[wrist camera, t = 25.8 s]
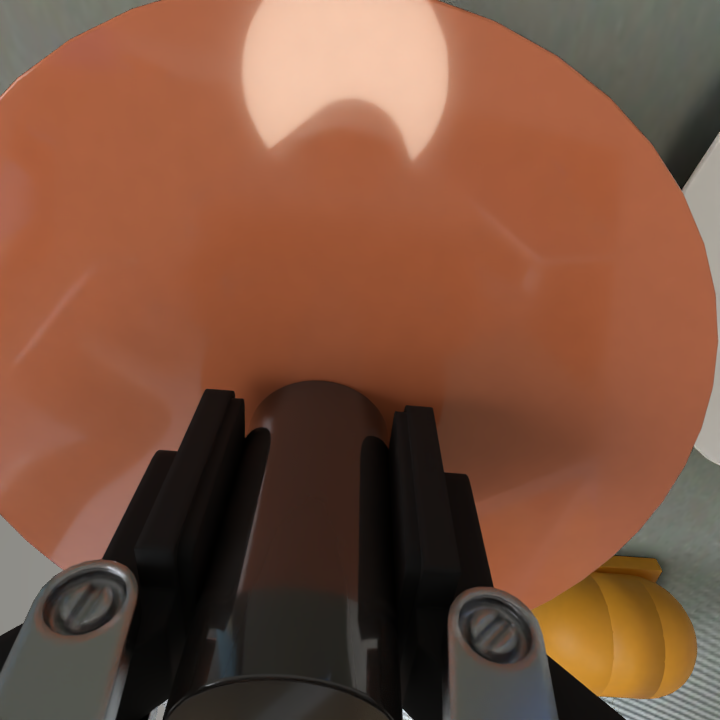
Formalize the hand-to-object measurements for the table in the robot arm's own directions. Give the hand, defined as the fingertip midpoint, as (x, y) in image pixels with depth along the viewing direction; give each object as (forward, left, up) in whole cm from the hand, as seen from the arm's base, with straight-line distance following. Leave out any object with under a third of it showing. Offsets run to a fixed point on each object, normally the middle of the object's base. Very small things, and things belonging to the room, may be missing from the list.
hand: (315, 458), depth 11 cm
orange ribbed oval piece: (+15, -17, -11) cm, 25 cm away
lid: (0, 0, -1) cm, 1 cm away
